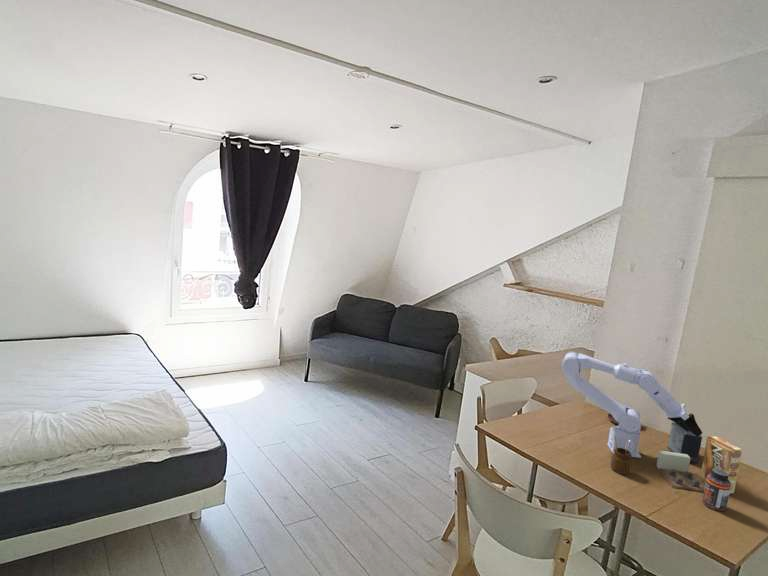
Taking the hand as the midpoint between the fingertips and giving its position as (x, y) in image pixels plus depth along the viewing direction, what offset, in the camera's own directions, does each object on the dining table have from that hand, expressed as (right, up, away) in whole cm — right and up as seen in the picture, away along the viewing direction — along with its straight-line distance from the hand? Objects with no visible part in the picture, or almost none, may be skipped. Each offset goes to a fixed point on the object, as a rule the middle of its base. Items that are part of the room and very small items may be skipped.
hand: (694, 432), depth 152 cm
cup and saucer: (-5, -8, +37) cm, 38 cm away
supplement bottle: (-8, -16, -19) cm, 26 cm away
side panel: (-8, -14, -7) cm, 18 cm away
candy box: (+1, -15, -8) cm, 17 cm away
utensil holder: (-28, -12, -2) cm, 30 cm away
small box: (+3, -13, +11) cm, 17 cm away
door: (-8, -13, 0) cm, 15 cm away
